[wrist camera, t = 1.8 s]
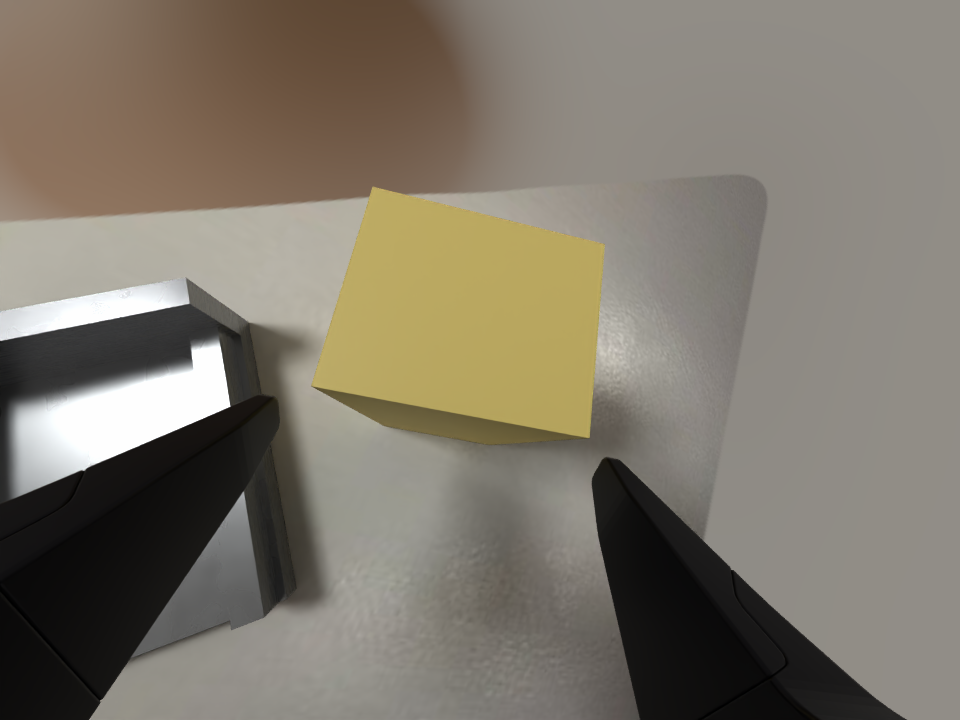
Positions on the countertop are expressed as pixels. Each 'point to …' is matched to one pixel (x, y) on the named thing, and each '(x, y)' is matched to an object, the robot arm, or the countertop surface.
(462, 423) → the block
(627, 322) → the countertop surface
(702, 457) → the countertop surface
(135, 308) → the grey metal tray
